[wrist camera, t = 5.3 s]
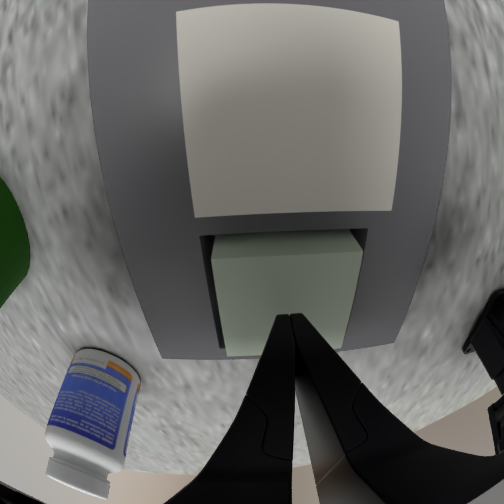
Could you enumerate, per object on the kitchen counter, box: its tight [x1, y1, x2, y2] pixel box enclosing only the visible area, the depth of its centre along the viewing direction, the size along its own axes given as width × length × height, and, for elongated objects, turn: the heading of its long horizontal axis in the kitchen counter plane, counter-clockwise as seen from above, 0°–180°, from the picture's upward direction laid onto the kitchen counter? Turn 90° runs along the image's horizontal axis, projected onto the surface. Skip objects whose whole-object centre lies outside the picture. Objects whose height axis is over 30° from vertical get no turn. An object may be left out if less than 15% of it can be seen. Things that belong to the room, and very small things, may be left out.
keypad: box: [87, 0, 451, 360], centre depth 8 cm, size 11×20×3 cm, turn 3°
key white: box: [176, 3, 402, 218], centre depth 6 cm, size 5×5×2 cm
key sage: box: [211, 229, 363, 356], centre depth 10 cm, size 5×5×2 cm
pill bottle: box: [45, 349, 140, 499], centre depth 13 cm, size 5×5×10 cm
